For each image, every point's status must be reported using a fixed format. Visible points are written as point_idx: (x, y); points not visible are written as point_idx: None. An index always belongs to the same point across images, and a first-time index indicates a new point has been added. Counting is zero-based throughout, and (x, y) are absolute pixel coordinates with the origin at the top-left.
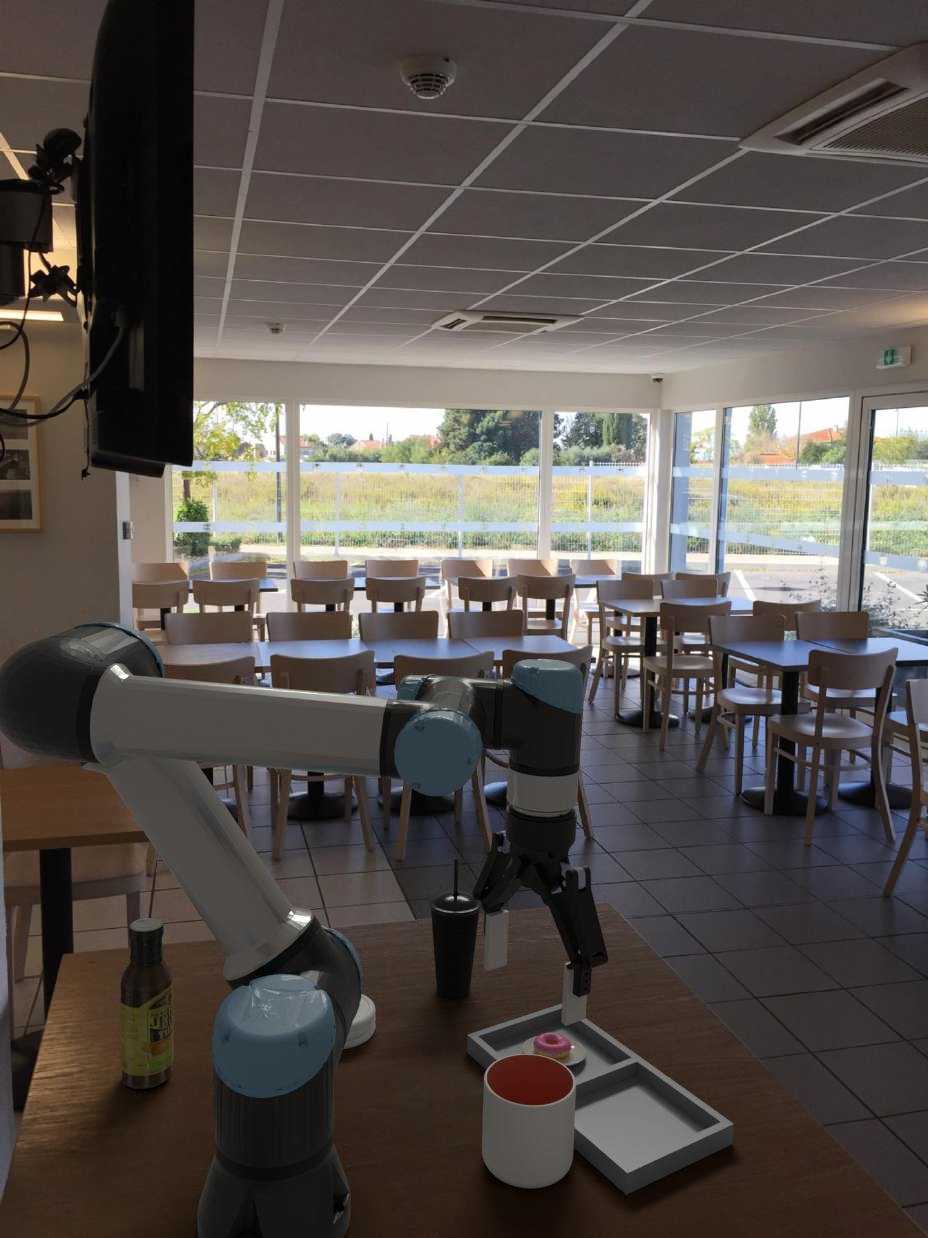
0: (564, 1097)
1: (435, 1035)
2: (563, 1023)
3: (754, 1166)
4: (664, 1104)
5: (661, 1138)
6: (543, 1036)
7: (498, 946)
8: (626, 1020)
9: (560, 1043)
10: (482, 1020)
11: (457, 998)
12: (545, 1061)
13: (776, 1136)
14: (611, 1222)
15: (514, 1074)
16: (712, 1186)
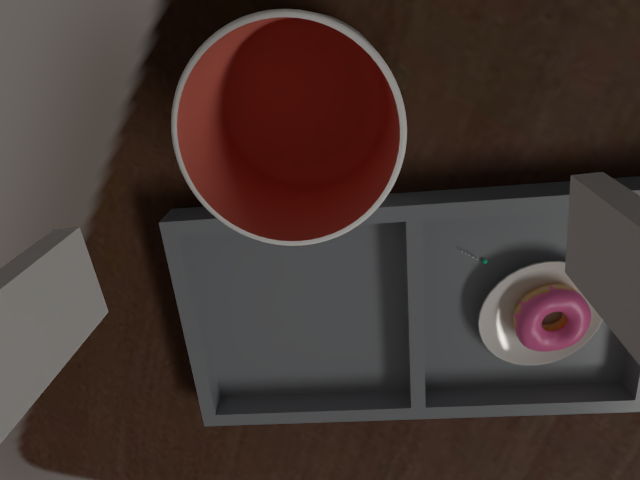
0: (186, 173)
1: None
2: (63, 229)
3: (163, 397)
4: (323, 381)
5: (254, 328)
6: (576, 318)
7: (615, 275)
8: (556, 466)
9: (534, 331)
10: None
11: None
12: (351, 219)
13: (205, 457)
14: (125, 152)
15: (392, 147)
16: (146, 326)
